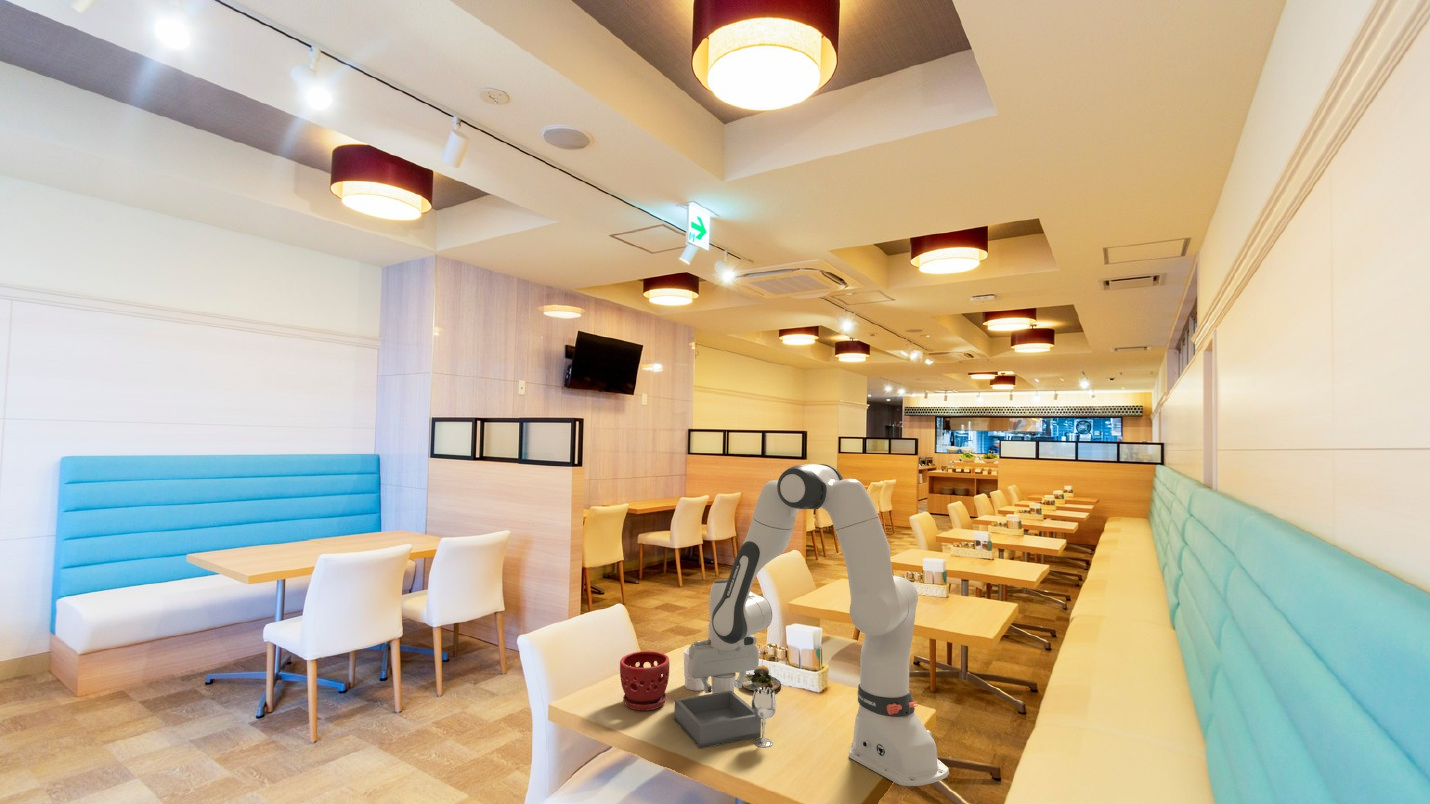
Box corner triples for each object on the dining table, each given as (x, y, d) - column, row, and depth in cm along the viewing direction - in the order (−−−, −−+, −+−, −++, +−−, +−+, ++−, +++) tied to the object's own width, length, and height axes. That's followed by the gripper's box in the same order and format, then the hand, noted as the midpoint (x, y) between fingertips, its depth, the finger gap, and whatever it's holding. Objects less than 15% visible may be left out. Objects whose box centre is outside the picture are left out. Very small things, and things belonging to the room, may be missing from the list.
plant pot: (632, 691, 181) (634, 647, 182) (676, 699, 176) (677, 654, 177) (609, 709, 169) (611, 662, 169) (655, 718, 164) (656, 670, 165)
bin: (760, 736, 156) (761, 715, 156) (699, 748, 149) (700, 726, 149) (730, 710, 170) (731, 690, 170) (674, 719, 163) (674, 699, 164)
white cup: (710, 692, 182) (711, 656, 182) (681, 691, 182) (683, 655, 182) (710, 681, 190) (711, 646, 190) (683, 680, 190) (684, 646, 190)
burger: (731, 689, 185) (732, 662, 185) (753, 677, 195) (753, 651, 195) (768, 699, 178) (768, 672, 179) (788, 686, 188) (789, 660, 188)
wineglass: (768, 750, 149) (769, 697, 149) (746, 744, 152) (747, 691, 152) (779, 741, 154) (780, 689, 154) (758, 734, 157) (759, 684, 157)
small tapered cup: (732, 705, 173) (733, 679, 173) (707, 703, 174) (708, 676, 175) (737, 695, 180) (737, 670, 180) (712, 693, 181) (713, 667, 181)
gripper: (694, 646, 171) (692, 699, 170) (761, 637, 179) (760, 688, 179) (684, 638, 176) (683, 690, 176) (751, 631, 185) (750, 680, 184)
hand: (723, 689), depth 177 cm, fingers open, 8 cm apart
